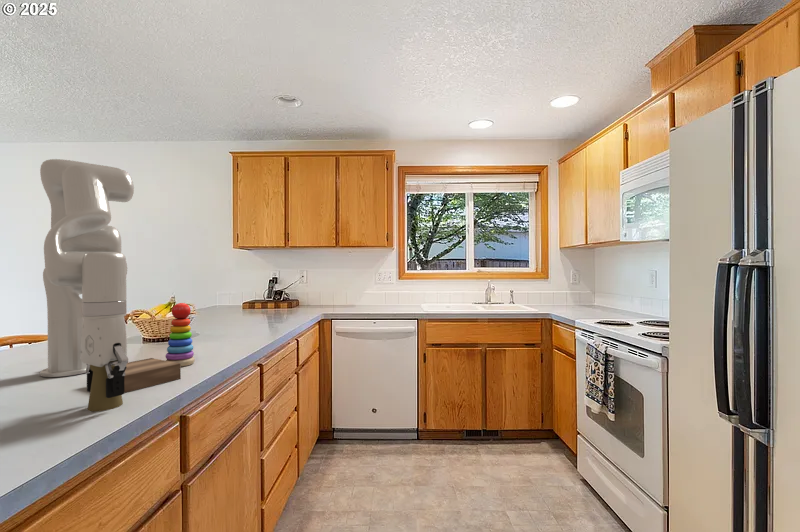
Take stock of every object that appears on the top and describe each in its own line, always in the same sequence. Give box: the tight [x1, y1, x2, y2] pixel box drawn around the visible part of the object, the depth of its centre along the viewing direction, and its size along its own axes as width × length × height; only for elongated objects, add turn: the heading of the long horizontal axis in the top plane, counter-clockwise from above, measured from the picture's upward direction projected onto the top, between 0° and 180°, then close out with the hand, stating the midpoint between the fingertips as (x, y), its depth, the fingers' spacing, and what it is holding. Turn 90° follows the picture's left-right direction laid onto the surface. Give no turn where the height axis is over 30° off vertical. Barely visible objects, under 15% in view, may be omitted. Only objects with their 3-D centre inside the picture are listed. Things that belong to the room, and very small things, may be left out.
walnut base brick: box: [124, 357, 182, 394], centre depth 101 cm, size 14×14×4 cm
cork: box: [87, 360, 124, 412], centre depth 83 cm, size 6×6×11 cm
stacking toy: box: [165, 302, 195, 367], centre depth 120 cm, size 8×8×19 cm
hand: (105, 392), depth 83 cm, fingers open, 7 cm apart
